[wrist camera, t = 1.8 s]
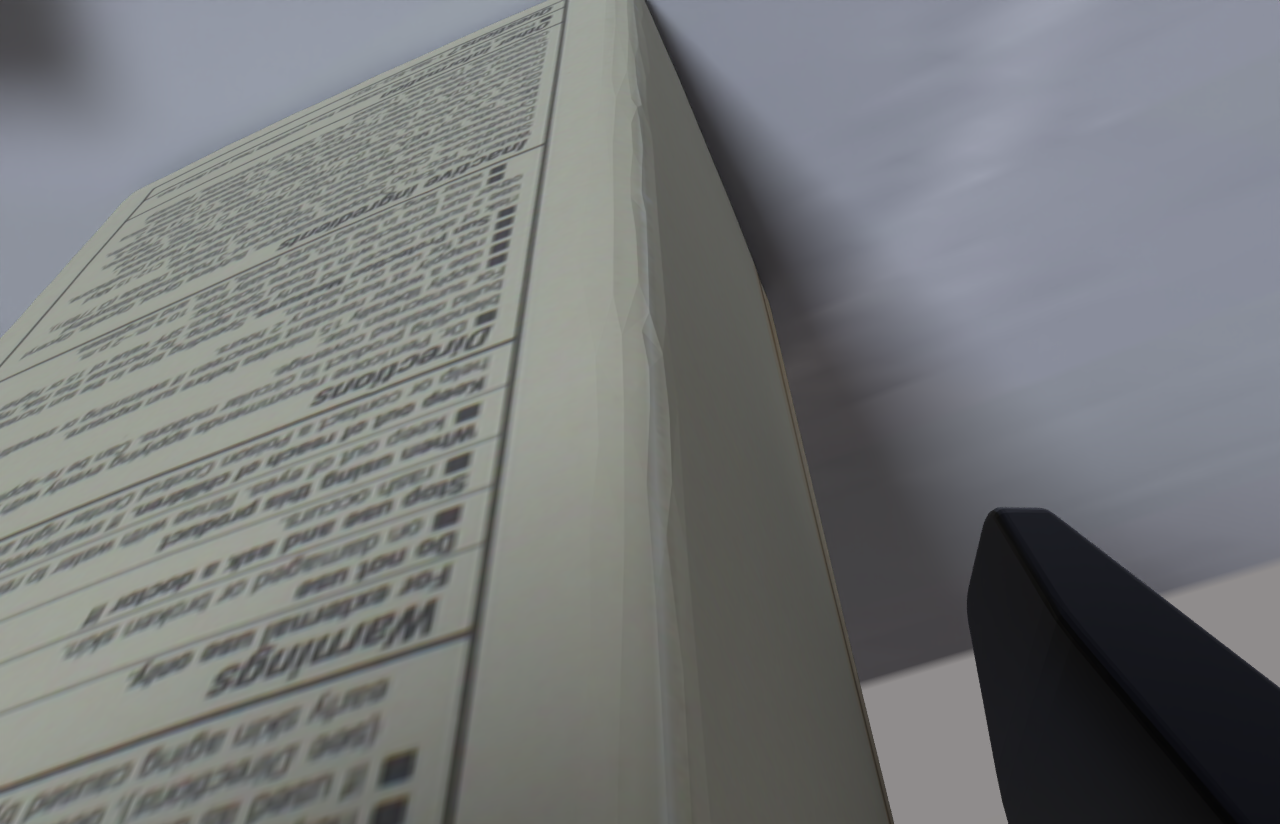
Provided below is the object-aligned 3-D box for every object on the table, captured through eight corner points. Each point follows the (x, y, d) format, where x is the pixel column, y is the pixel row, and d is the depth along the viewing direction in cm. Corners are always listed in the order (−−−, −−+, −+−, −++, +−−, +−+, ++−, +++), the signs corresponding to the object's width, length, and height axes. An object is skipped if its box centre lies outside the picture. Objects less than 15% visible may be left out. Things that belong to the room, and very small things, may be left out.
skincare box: (330, 471, 15) (-276, 2212, 5) (111, 173, 13) (-1882, 2303, 3) (793, 296, 14) (1267, 2211, 4) (642, -73, 11) (772, 2406, 1)
